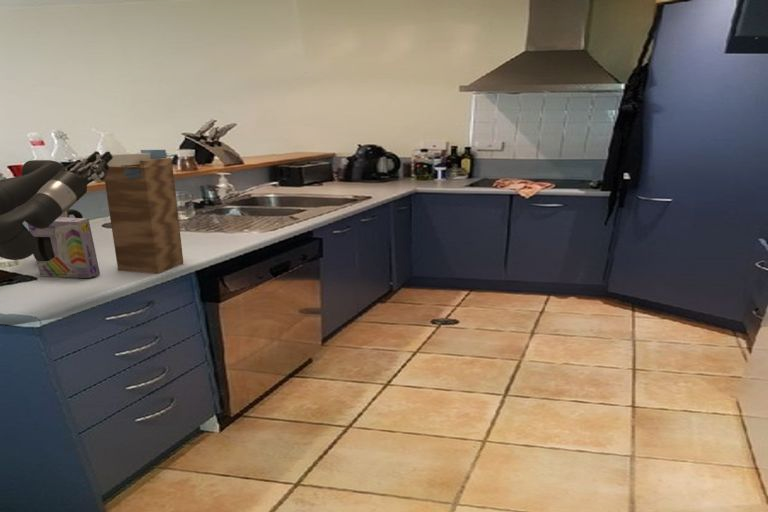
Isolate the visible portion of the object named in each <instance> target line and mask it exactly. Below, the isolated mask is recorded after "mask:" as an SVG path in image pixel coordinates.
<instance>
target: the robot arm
mask: <svg viewBox="0 0 768 512" xmlns="http://www.w3.org/2000/svg"><path fill="white" fill-rule="evenodd" d="M96 155H102V156H101V157H100V158H98V159H97V160H96ZM112 158H113V157H112V155H111V152H110V151H105V152H104V153H102V154H101V153H100V152H99V151H94V152H93V153H91V154H90V156H88V157H85V158H83V159H82V160H81V159H77V160H75V161H73V162H72V163H71V162H70V164H67V165H66V166H65V165H64V164H62V163H61V162H59V161H57V160H50V159H44V160H43V159H40V160H39V159H33V160H32V159H31V160H28V161H26V162H24V164H23V165H22V168H21V175H19V176H13V177H9V178H3V179H0V258H2V259H5V260H10V261H20V260H24V259H27V258H30V257H31V256H33V253H34V252H35V251H36V249H37V241H36V239H35V237H34V236H33V235H32V234H31V233H30V232H29V228H27V227H26V226H25V224H24V222H25V223H26V224H27V225H28V224H30V225H31V226H33V227H35V228H38V229H44V228H47V227H48V226H50V225H51V224H52V223H53V222H54V221H55V220H56V219H57V218H58V217H66V218H67V213H66V211H67V210H68V209H72V207H73V206H74V205H75V204H76V203H78V201H80V199H82V197H83V196H84V195H86V194H87V191H88V185H89V184H90V183H93V181H95V180H96V179H99V180H100V181H105V177H106V175H107V173H108V171H109V169H110V168H109V166H108V164H107V163H108V162H109V161H110V160H111V159H112ZM97 164H99V166H97Z"/></svg>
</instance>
